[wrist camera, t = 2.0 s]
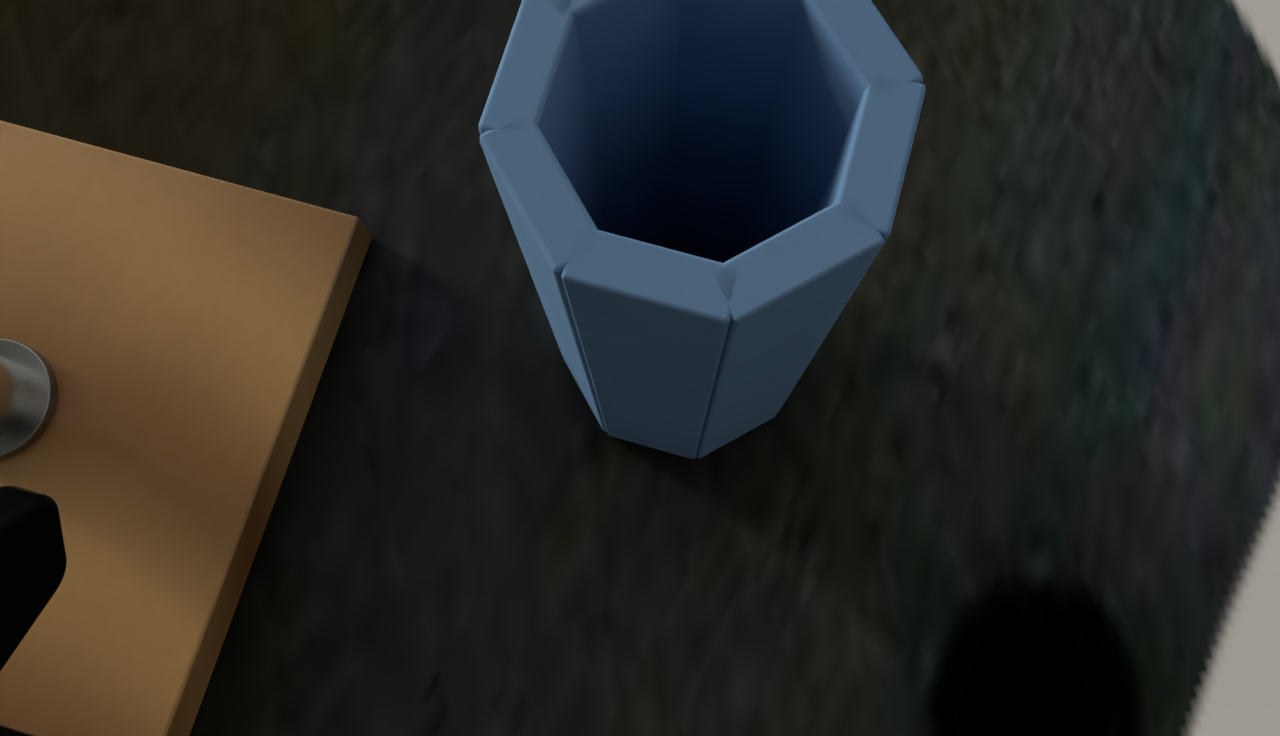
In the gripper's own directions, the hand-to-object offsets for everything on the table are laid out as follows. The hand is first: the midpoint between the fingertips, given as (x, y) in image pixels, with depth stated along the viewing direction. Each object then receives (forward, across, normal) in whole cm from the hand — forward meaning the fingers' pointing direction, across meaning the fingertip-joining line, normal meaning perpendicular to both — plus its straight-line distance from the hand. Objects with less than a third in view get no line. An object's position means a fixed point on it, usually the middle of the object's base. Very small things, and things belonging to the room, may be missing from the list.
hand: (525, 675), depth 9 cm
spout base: (+10, +12, +8) cm, 18 cm away
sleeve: (+14, 0, +4) cm, 14 cm away
